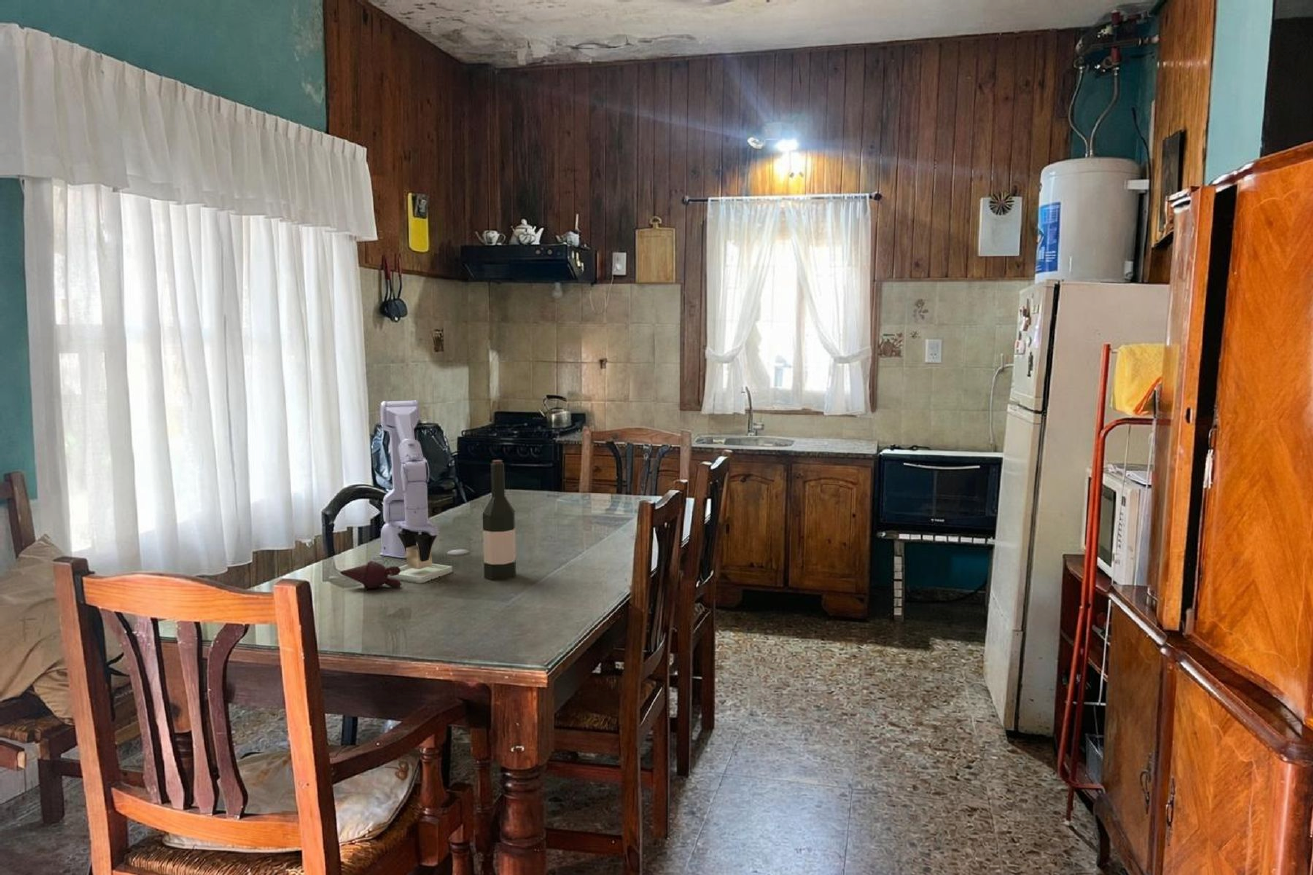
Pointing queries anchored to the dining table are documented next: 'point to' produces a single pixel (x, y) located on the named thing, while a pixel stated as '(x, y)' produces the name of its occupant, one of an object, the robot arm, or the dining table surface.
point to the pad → (458, 552)
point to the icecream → (374, 575)
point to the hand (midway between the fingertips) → (418, 559)
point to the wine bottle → (499, 530)
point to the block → (417, 558)
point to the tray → (421, 573)
